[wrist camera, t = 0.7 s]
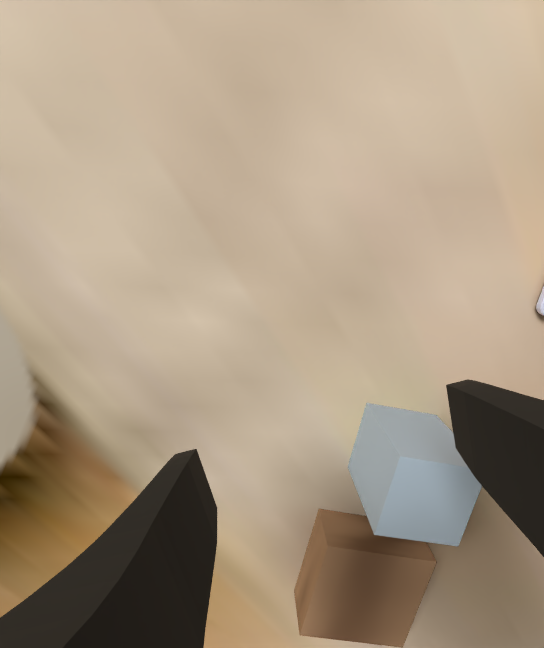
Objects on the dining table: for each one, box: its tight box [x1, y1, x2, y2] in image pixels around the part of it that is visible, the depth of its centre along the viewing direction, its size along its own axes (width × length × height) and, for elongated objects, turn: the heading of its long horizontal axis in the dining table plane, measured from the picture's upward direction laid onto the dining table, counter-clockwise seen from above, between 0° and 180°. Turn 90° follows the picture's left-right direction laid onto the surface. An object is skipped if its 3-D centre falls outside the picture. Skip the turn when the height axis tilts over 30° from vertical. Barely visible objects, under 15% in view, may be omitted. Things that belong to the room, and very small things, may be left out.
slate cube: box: [348, 403, 482, 546], centre depth 20 cm, size 4×4×5 cm
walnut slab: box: [294, 509, 437, 647], centre depth 23 cm, size 6×6×3 cm
